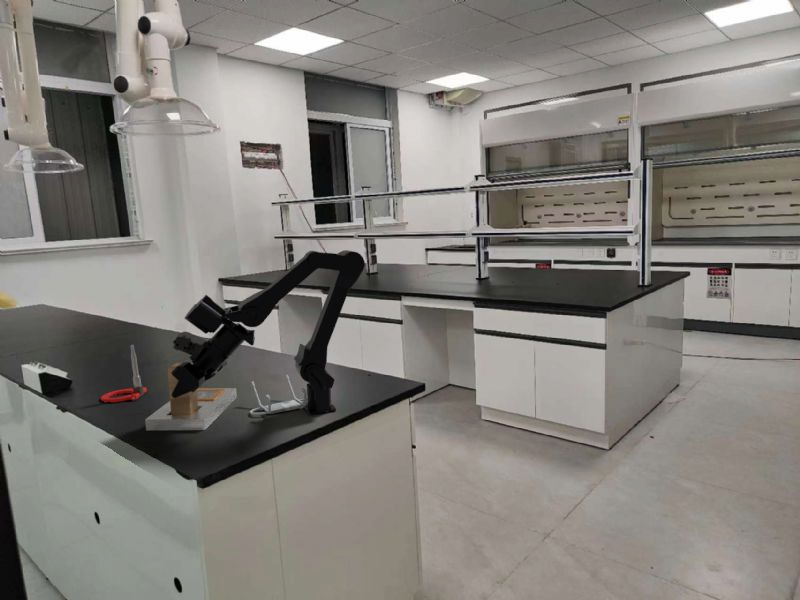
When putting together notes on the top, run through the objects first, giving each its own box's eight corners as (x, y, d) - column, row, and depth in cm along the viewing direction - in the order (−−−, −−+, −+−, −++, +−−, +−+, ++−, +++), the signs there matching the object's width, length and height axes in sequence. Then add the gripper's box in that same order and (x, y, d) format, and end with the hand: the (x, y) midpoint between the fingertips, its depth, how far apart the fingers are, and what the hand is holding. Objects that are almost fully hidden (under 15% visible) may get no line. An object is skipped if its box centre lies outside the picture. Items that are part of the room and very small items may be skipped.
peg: (191, 424, 124) (187, 368, 122) (172, 424, 124) (167, 368, 122) (199, 417, 128) (194, 363, 126) (180, 417, 128) (175, 363, 126)
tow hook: (95, 405, 139) (135, 402, 140) (87, 352, 137) (128, 348, 138) (110, 394, 148) (149, 391, 149) (103, 344, 146) (142, 341, 147)
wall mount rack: (256, 421, 125) (254, 396, 124) (239, 405, 136) (238, 382, 135) (320, 407, 133) (319, 384, 132) (299, 394, 144) (298, 372, 143)
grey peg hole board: (204, 430, 120) (203, 417, 120) (146, 430, 121) (145, 418, 120) (236, 397, 142) (236, 386, 142) (186, 397, 142) (186, 387, 142)
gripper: (210, 313, 132) (168, 358, 133) (177, 328, 113) (129, 381, 115) (245, 345, 132) (203, 389, 134) (218, 365, 114) (169, 417, 116)
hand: (177, 393), depth 125 cm, fingers closed on peg, 4 cm apart
